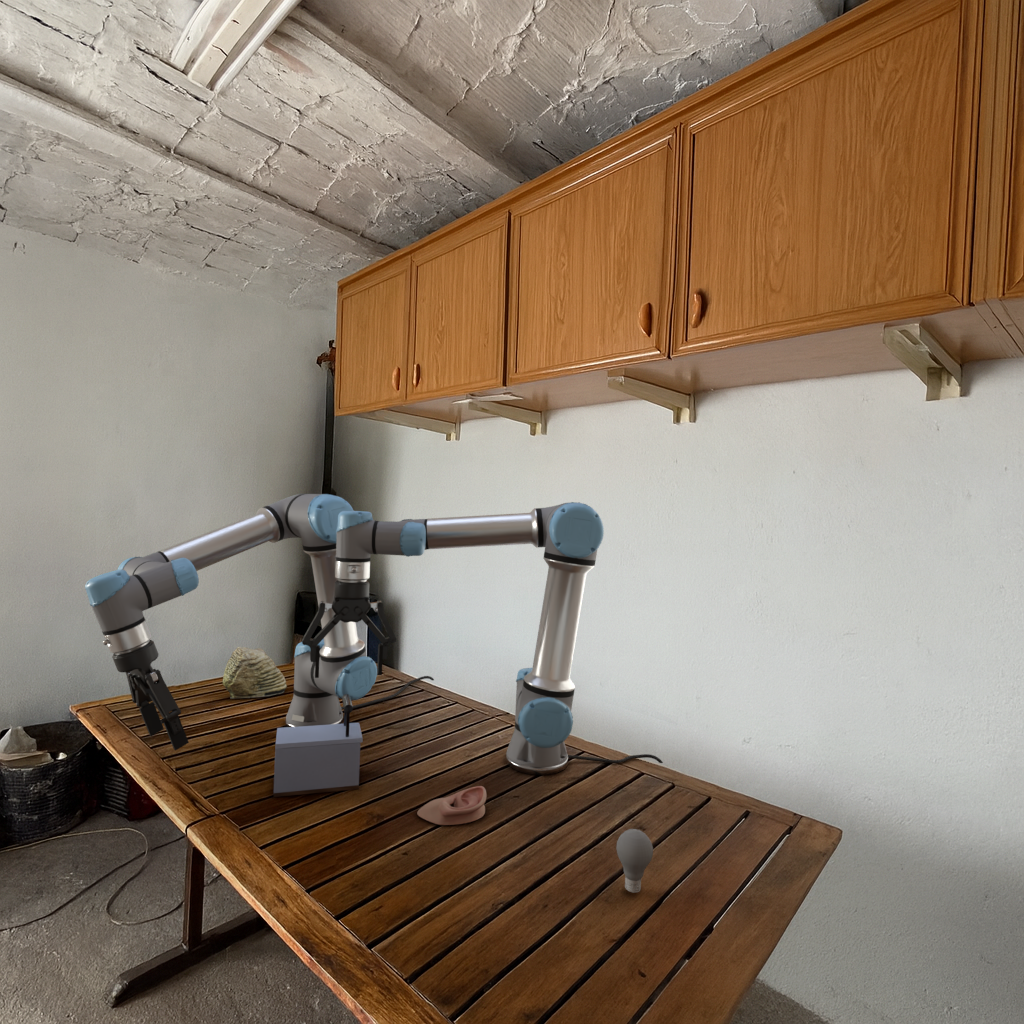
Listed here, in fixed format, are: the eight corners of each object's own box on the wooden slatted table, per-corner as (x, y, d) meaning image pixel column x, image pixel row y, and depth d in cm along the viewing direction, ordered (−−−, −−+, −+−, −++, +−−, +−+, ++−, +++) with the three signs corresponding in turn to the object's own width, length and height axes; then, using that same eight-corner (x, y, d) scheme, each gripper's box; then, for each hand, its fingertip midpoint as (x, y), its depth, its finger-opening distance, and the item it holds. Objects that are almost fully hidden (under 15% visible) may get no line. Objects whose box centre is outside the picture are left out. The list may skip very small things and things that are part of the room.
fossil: (218, 695, 195) (220, 647, 195) (278, 685, 208) (279, 640, 207) (228, 703, 189) (230, 653, 188) (289, 692, 201) (290, 645, 201)
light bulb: (610, 879, 108) (613, 822, 108) (644, 879, 109) (647, 822, 109) (619, 902, 102) (622, 840, 102) (655, 901, 103) (658, 840, 103)
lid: (358, 726, 147) (360, 691, 147) (362, 742, 138) (364, 705, 138) (277, 732, 142) (278, 696, 142) (275, 748, 133) (276, 710, 132)
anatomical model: (412, 801, 125) (431, 776, 136) (411, 820, 125) (430, 795, 136) (477, 810, 122) (491, 784, 134) (476, 830, 122) (490, 803, 134)
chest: (355, 770, 147) (357, 727, 147) (358, 788, 138) (360, 742, 138) (275, 777, 142) (277, 732, 142) (273, 797, 133) (275, 749, 132)
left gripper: (93, 648, 133) (129, 736, 137) (133, 663, 116) (173, 764, 120) (131, 632, 138) (165, 717, 142) (174, 644, 121) (211, 741, 126)
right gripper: (292, 582, 134) (289, 682, 134) (410, 582, 141) (407, 676, 142) (293, 577, 141) (289, 672, 141) (405, 578, 148) (402, 668, 149)
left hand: (168, 739), depth 131 cm, fingers open, 13 cm apart
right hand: (348, 675), depth 141 cm, fingers open, 13 cm apart
